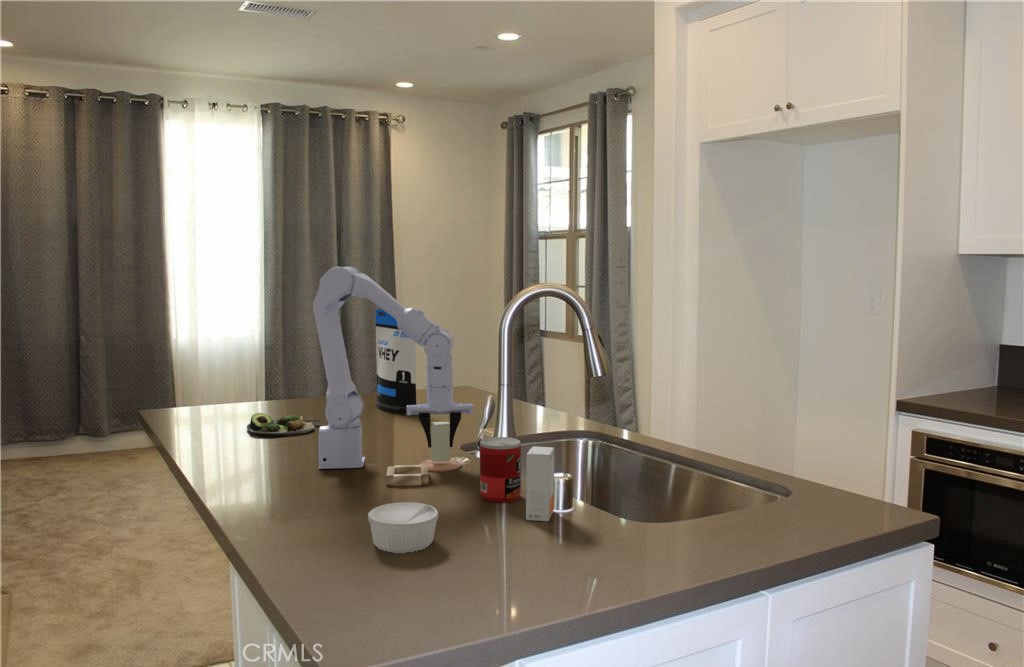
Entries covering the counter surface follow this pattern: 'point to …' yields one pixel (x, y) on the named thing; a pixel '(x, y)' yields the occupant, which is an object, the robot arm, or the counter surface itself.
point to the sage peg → (440, 442)
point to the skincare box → (540, 483)
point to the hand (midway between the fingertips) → (440, 446)
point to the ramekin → (403, 526)
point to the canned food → (500, 469)
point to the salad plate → (278, 425)
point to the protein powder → (394, 366)
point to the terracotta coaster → (441, 465)
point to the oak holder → (407, 475)
